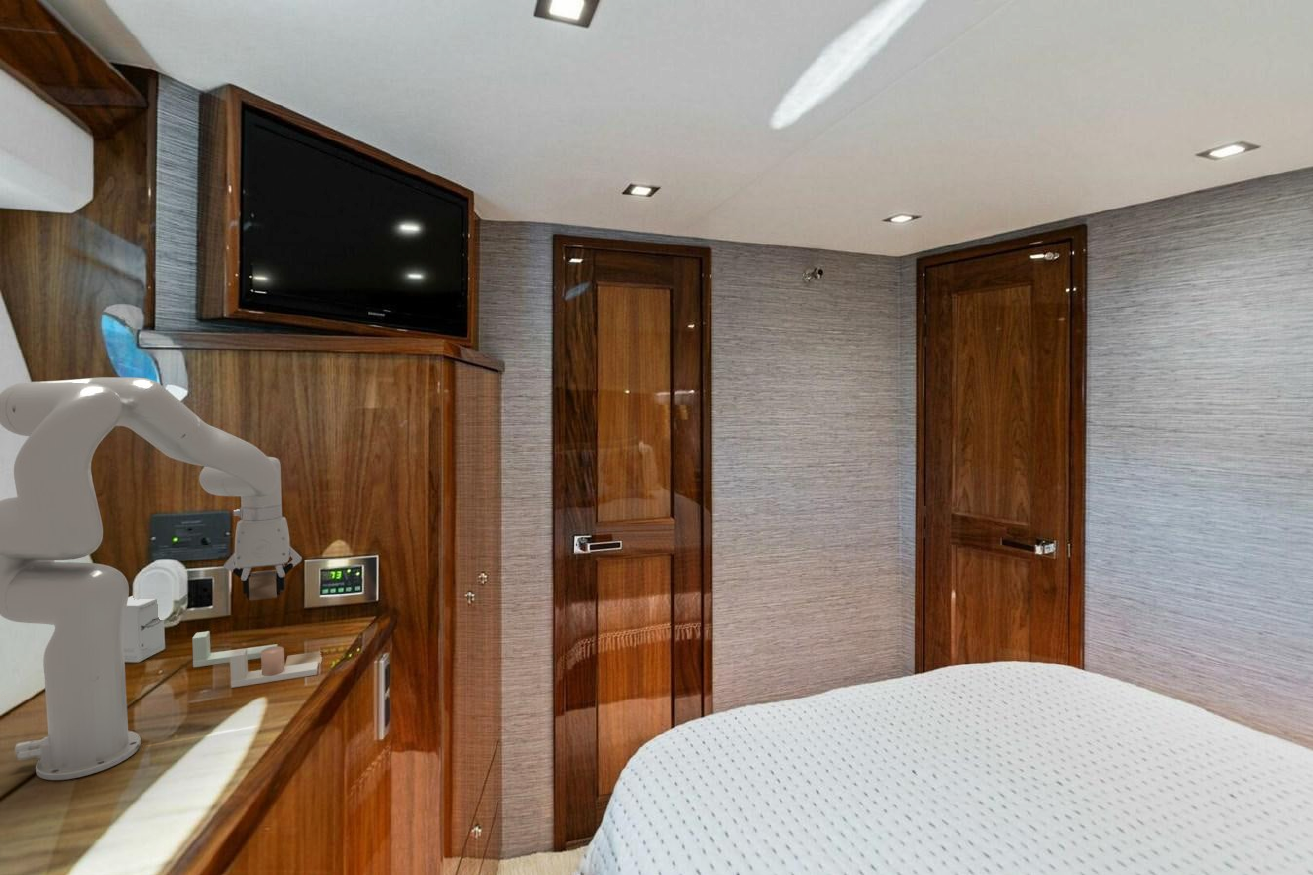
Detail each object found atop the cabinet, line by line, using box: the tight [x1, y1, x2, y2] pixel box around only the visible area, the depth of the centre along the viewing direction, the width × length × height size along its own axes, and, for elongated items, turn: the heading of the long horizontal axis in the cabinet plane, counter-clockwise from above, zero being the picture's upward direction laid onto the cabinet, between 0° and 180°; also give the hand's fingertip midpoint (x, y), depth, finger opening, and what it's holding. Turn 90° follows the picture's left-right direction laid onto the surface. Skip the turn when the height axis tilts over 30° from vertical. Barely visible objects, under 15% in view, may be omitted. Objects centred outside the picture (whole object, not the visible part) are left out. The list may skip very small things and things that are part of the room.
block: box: [248, 569, 278, 601], centre depth 141 cm, size 5×5×5 cm
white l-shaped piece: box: [191, 630, 278, 668], centre depth 140 cm, size 15×4×6 cm, turn 114°
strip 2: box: [229, 647, 319, 689], centre depth 131 cm, size 15×4×6 cm, turn 114°
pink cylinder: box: [260, 645, 285, 676], centre depth 131 cm, size 4×4×4 cm
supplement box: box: [123, 595, 166, 663], centre depth 142 cm, size 7×7×13 cm
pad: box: [284, 650, 323, 666], centre depth 139 cm, size 7×7×1 cm
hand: (264, 594), depth 141 cm, fingers closed on block, 5 cm apart
